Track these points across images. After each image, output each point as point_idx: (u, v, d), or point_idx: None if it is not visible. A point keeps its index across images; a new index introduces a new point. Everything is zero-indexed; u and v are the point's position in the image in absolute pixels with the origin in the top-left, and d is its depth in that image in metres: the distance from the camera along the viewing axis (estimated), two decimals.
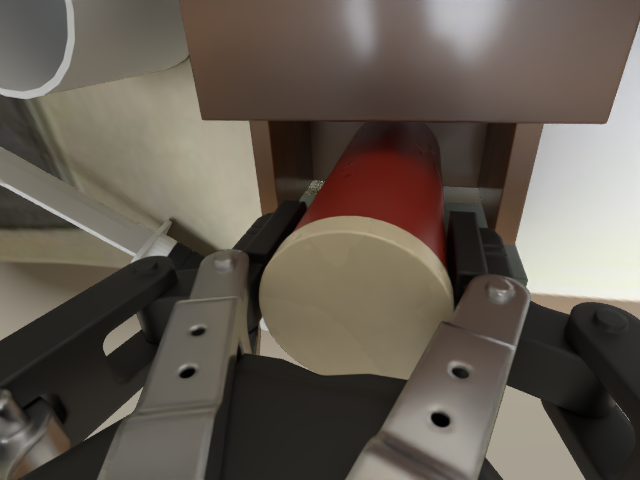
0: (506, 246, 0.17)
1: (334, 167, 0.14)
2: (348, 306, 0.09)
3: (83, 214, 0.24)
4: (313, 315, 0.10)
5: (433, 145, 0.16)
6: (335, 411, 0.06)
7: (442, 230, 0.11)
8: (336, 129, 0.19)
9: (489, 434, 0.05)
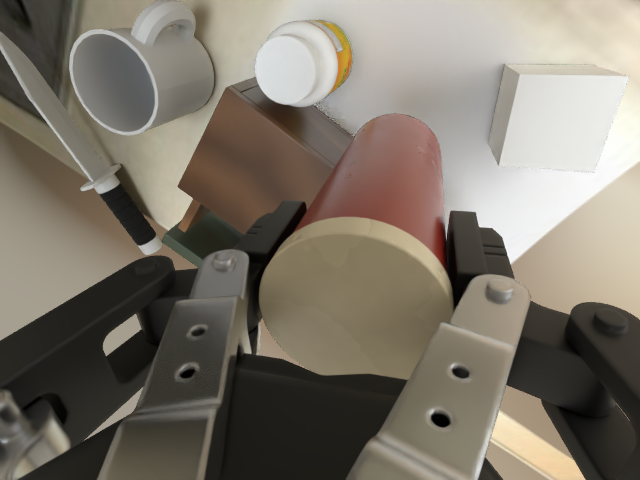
0: None
1: (334, 168, 0.14)
2: (348, 307, 0.09)
3: (71, 140, 0.38)
4: (313, 316, 0.10)
5: (433, 146, 0.16)
6: (335, 411, 0.06)
7: (442, 231, 0.11)
8: None
9: (489, 434, 0.05)
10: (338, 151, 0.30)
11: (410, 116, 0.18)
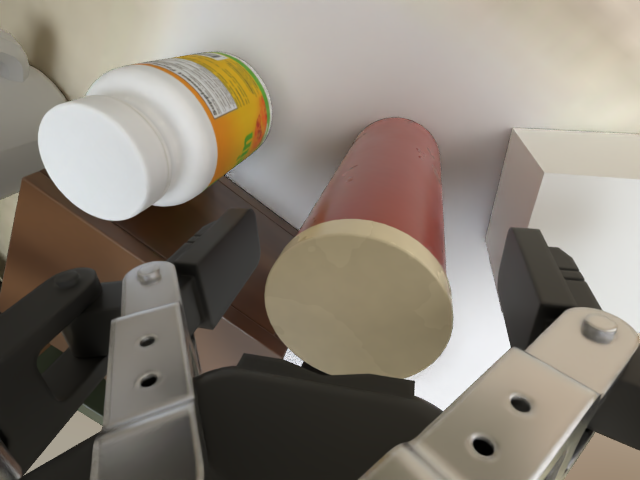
0: None
1: (336, 171, 0.15)
2: (350, 305, 0.10)
3: None
4: (316, 314, 0.10)
5: (433, 149, 0.17)
6: (335, 411, 0.06)
7: (441, 232, 0.11)
8: None
9: (536, 478, 0.04)
10: None
11: (410, 120, 0.18)
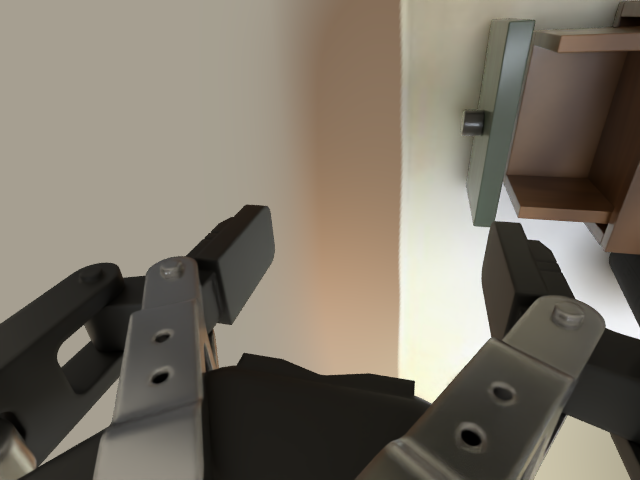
0: None
1: None
2: None
3: None
4: None
5: None
6: (335, 411, 0.06)
7: None
8: (577, 68, 0.24)
9: (522, 463, 0.04)
10: None
11: None
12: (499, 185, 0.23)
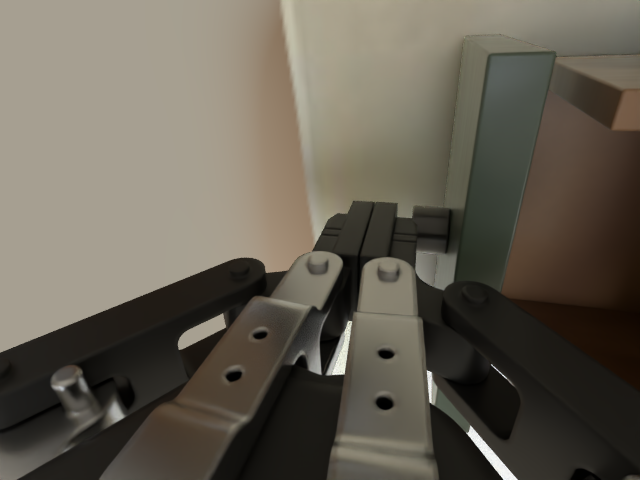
0: None
1: None
2: None
3: None
4: None
5: None
6: (335, 411, 0.06)
7: None
8: (630, 131, 0.12)
9: (427, 400, 0.05)
10: None
11: None
12: None
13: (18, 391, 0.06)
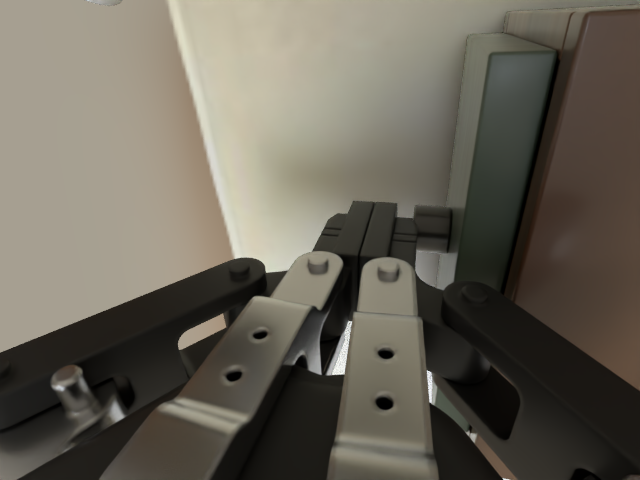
0: None
1: None
2: None
3: None
4: None
5: None
6: (335, 411, 0.06)
7: None
8: None
9: (427, 400, 0.05)
10: None
11: None
12: None
13: (18, 390, 0.06)
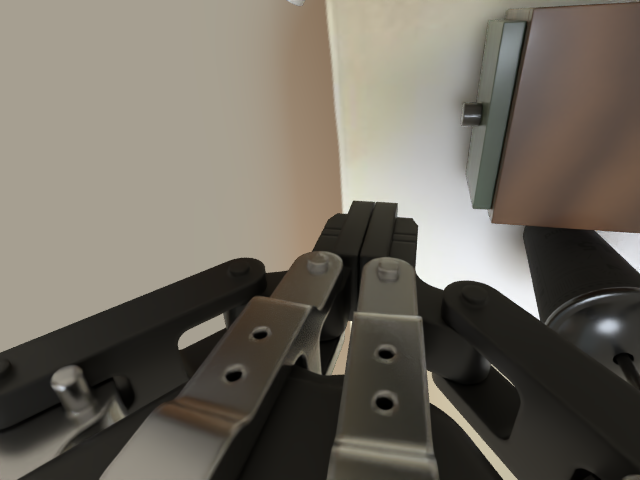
0: None
1: None
2: None
3: None
4: None
5: None
6: (335, 411, 0.06)
7: None
8: None
9: (427, 400, 0.05)
10: None
11: None
12: (496, 170, 0.25)
13: (18, 390, 0.06)
